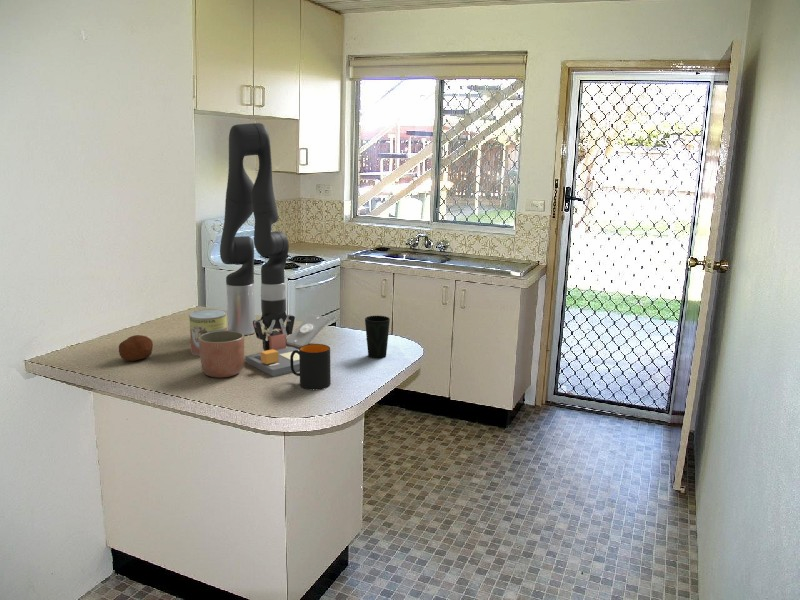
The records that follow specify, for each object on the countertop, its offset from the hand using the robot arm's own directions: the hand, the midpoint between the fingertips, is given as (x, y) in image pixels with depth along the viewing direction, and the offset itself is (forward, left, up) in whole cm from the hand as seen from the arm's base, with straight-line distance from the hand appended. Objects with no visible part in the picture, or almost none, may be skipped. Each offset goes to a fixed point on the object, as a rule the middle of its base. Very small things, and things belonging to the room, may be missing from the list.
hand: (275, 349), depth 211 cm
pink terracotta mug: (+8, -21, -1) cm, 23 cm away
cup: (+22, +23, -1) cm, 32 cm away
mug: (+30, -7, -1) cm, 31 cm away
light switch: (-4, +14, -1) cm, 15 cm away
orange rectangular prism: (+14, -9, +1) cm, 17 cm away
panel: (+11, -4, -1) cm, 12 cm away
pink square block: (0, 0, -1) cm, 1 cm away
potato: (-20, -36, -1) cm, 41 cm away
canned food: (-15, -15, -1) cm, 21 cm away
